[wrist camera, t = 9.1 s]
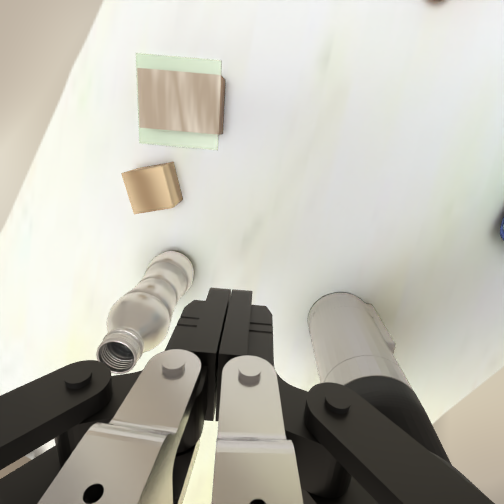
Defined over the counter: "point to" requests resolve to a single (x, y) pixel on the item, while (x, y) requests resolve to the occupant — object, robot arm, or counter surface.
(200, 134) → the pad
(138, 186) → the oak block
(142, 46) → the counter surface
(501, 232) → the lunch box
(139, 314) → the plastic bottle
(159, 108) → the walnut block
